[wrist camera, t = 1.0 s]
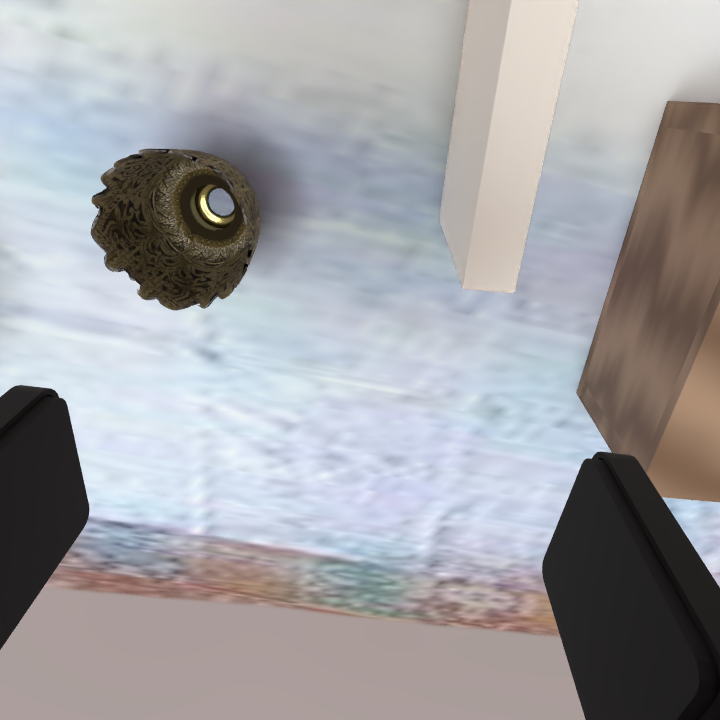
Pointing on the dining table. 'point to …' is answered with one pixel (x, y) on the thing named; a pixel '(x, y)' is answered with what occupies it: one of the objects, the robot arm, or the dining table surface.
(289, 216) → the dining table surface
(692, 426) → the cabinet body
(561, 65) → the cabinet door
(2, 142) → the dining table surface
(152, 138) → the dining table surface
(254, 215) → the dark textured ornament
